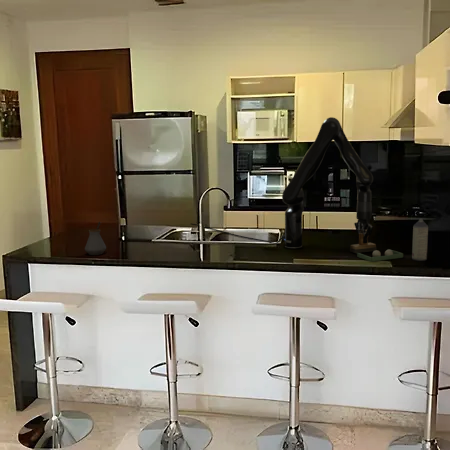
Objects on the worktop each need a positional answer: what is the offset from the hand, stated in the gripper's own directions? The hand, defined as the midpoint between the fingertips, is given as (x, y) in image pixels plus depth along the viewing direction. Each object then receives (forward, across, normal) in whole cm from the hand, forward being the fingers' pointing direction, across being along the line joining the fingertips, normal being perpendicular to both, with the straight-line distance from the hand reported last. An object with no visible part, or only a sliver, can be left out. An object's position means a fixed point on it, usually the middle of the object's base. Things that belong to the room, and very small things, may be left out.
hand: (363, 242), depth 279 cm
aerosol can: (+5, -26, -14) cm, 30 cm away
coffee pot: (+5, +67, +127) cm, 144 cm away
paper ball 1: (+3, -15, +3) cm, 15 cm away
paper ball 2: (+3, -17, -3) cm, 17 cm away
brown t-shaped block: (+5, 0, 0) cm, 5 cm away
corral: (+5, -14, 0) cm, 14 cm away
